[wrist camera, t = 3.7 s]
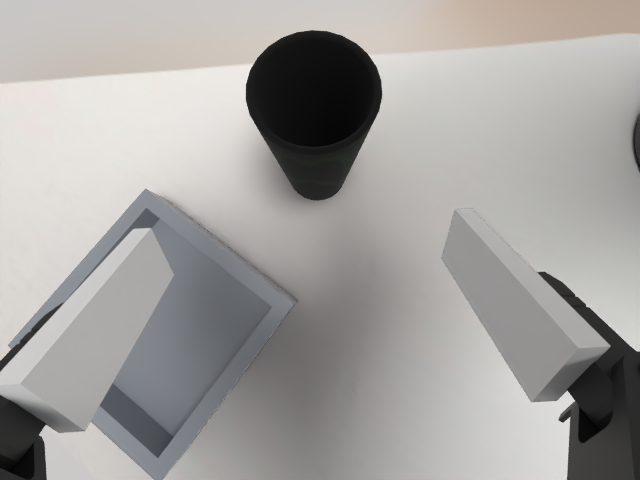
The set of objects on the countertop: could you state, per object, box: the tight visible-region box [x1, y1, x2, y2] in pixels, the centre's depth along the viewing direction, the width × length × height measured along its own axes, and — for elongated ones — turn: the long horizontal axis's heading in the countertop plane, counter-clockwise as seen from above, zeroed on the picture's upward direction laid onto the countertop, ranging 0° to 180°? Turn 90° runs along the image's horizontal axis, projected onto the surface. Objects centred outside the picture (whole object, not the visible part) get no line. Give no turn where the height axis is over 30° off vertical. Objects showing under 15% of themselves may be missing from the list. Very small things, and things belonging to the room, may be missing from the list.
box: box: [8, 189, 297, 480], centre depth 23 cm, size 16×16×4 cm
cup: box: [246, 30, 382, 200], centre depth 21 cm, size 8×8×12 cm
